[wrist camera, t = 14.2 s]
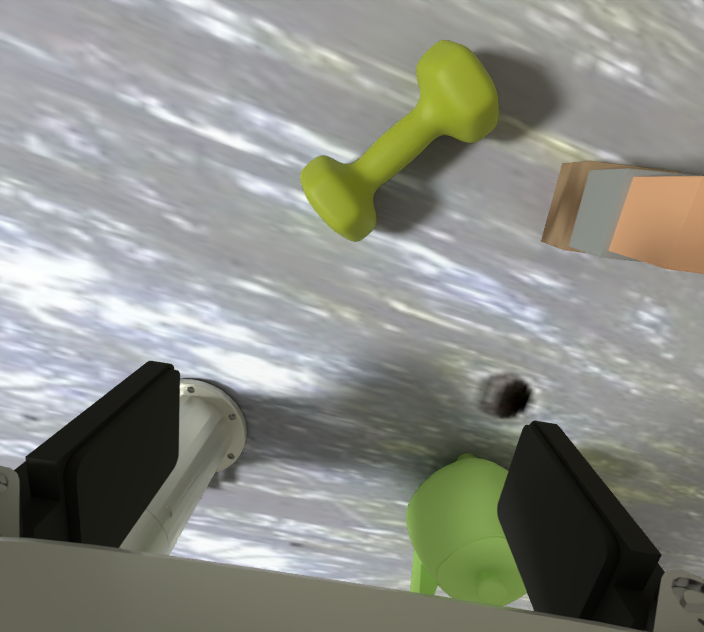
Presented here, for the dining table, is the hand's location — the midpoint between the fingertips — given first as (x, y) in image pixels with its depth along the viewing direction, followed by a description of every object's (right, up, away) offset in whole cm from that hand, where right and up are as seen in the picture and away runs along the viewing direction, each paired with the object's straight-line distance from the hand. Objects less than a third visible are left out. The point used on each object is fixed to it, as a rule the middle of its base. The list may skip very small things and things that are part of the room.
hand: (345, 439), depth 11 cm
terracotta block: (+21, +10, +16) cm, 29 cm away
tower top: (+22, +12, +21) cm, 32 cm away
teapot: (+14, -18, +37) cm, 44 cm away
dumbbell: (+4, +18, +26) cm, 32 cm away
